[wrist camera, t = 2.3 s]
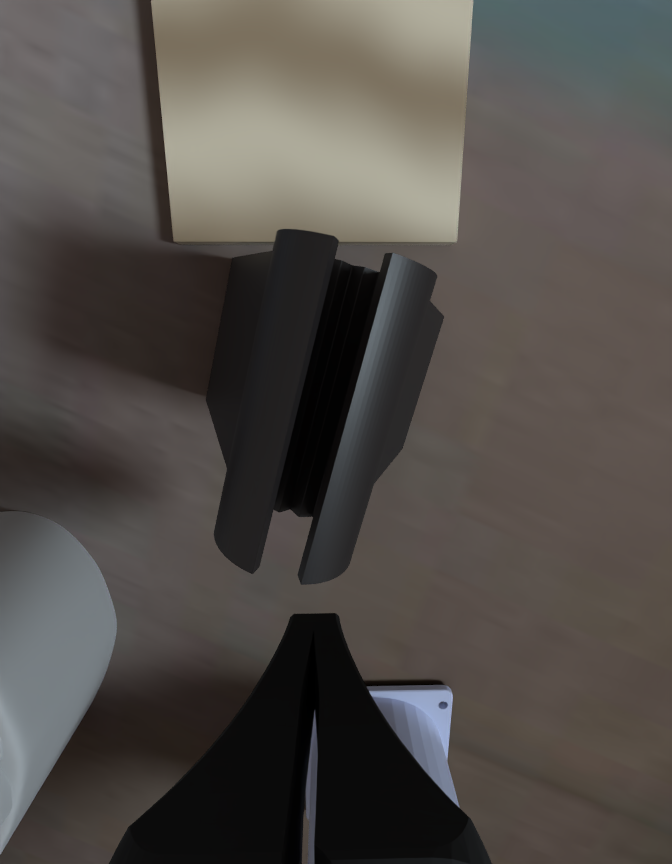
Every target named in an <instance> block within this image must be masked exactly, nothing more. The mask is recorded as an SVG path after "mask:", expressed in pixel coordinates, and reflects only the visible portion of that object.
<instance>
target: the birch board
mask: <svg viewBox="0 0 672 864" xmlns="http://www.w3.org/2000/svg"><path fill="white" fill-rule="evenodd" d="M151 5H152V16H153V27H154V38H155V48H156V59H157V70H158V80H159V91H160V102H161V112H162V123H163V134H164V144H165V155H166V166H167V176H168V187H169V198H170V208H171V219H172V230H173V241H174V242H176V243H178V244H180V245H274V242H275V237H276V232H277V231H278V230H280V229H298V230H306V231H312V232H318V233H323V234H328V235H332V236H335V237H336V238H337V239H338V240H339V243H338V245H452V244H454V243H456V242H457V233H458V218H459V203H460V188H461V173H462V159H463V144H464V129H465V114H466V99H467V84H468V70H469V55H470V40H471V25H472V10H473V0H151Z"/></svg>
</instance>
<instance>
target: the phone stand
mask: <svg viewBox="0 0 672 864" xmlns="http://www.w3.org/2000/svg"><path fill="white" fill-rule="evenodd" d="M338 243H339V240H338V239H337V238H336V237H335V236H332V235H328V234H323V233H318V232H312V231H306V230H298V229H280V230H278V231H277V232H276V237H275V242H274V247H273V251H269V252H263V253H257V254H252V255H246V256H240V257H234V258H232V263H231V268H230V273H229V279H228V284H227V289H226V295H225V300H224V306H223V311H222V316H221V322H220V327H219V332H218V338H217V343H216V348H215V354H214V359H213V364H212V370H211V375H210V381H209V386H208V391H207V397H206V402H207V405H208V408H209V411H210V415H211V418H212V421H213V424H214V428H215V431H216V434H217V437H218V441H219V444H220V447H221V450H222V454H223V457H224V460H225V463H226V467H227V472H226V477H225V482H224V486H223V491H222V496H221V501H220V506H219V510H218V515H217V520H216V525H215V530H214V538H215V542H216V544H217V546H218V548H219V549H220V551H221V552H222V553H223V554H224V556H225V557H226V558H228V559H229V560H230V561H231V562H232V563H234V564H235V565H237V566H238V567H240V568H241V569H243V570H245V571H247V572H249V573H251V574H253V573H254V572H255V571H256V570H257V569H258V568H259V566H260V562H261V558H262V554H263V550H264V546H265V542H266V538H267V533H268V529H269V525H270V521H271V517H272V513H273V509H274V510H276V511H278V512H282V511H286V510H289V509H291V510H292V511H293V512H294V513H295V514H296V515H297V516H298V517H313V520H312V524H311V528H310V531H309V535H308V539H307V542H306V546H305V550H304V553H303V557H302V561H301V564H300V568H299V572H298V577H299V580H300V583H301V585H304V584H316V583H322V582H326V581H329V580H332V579H334V578H336V577H338V576H339V575H341V574H342V573H343V572H344V571H345V570H346V569H347V568H348V566H349V564H350V561H351V557H352V554H353V551H354V547H355V544H356V541H357V538H358V534H359V531H360V528H361V524H362V521H363V518H364V515H365V511H366V508H367V505H368V502H369V498H370V495H371V492H372V488H373V485H374V483H375V482H376V481H377V479H378V478H379V477H380V476H381V474H382V473H383V472H384V471H385V469H386V468H387V467H388V466H389V465H390V463H391V462H392V461H393V460H394V458H395V457H396V456H397V455H398V453H399V452H400V451H401V450H402V448H403V445H404V442H405V439H406V436H407V433H408V429H409V426H410V423H411V420H412V417H413V414H414V410H415V407H416V404H417V401H418V398H419V395H420V391H421V388H422V385H423V382H424V379H425V376H426V373H427V369H428V366H429V363H430V360H431V357H432V354H433V350H434V347H435V344H436V341H437V338H438V335H439V331H440V328H441V325H442V322H443V319H444V316H443V315H442V314H441V313H440V312H439V310H438V309H437V308H436V307H435V306H434V305H433V304H432V303H431V302H430V298H431V295H432V292H433V289H434V285H435V282H436V279H437V274H436V273H435V272H434V271H432V270H431V269H429V268H427V267H426V266H424V265H422V264H419V263H417V262H415V261H413V260H410V259H408V258H405V257H403V256H400V255H398V254H395V253H386V254H385V255H384V259H383V263H382V266H381V270H380V272H377V271H374V270H371V269H368V268H366V267H360V266H353V265H350V264H348V263H346V262H344V261H341V260H336V259H335V255H336V251H337V247H338Z"/></svg>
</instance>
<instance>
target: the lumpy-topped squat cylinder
mask: <svg viewBox="0 0 672 864" xmlns="http://www.w3.org/2000/svg"><path fill="white" fill-rule="evenodd" d="M116 631H117V620H116V615H115V611H114V607H113V603H112V600H111V597H110V594H109V591H108V588H107V585H106V583H105V580H104V578H103V576H102V573H101V571H100V569H99V568H98V566H97V564H96V563H95V561H94V560H93V558H92V557H91V556H90V554H89V553H88V552H87V551H86V549H85V548H84V547H83V546H82V545H81V544H80V542H79V541H78V540H77V539H76V538H75V537H74V536H73V535H72V534H70V533H69V532H68V531H67V530H66V529H64V528H63V527H62V526H60V525H59V524H57V523H56V522H54V521H52V520H50V519H48V518H45V517H43V516H40V515H37V514H33V513H28V512H22V511H4V512H0V854H1V853H2V851H3V849H4V848H5V846H6V844H7V843H8V841H9V839H10V838H11V836H12V834H13V833H14V831H15V829H16V828H17V826H18V824H19V823H20V821H21V820H22V818H23V816H24V815H25V813H26V811H27V810H28V808H29V806H30V805H31V803H32V801H33V800H34V798H35V796H36V795H37V793H38V791H39V790H40V788H41V786H42V785H43V783H44V781H45V780H46V778H47V776H48V775H49V773H50V772H51V770H52V768H53V767H54V765H55V763H56V762H57V760H58V758H59V757H60V755H61V753H62V752H63V750H64V748H65V747H66V745H67V743H68V742H69V740H70V738H71V737H72V735H73V733H74V732H75V730H76V728H77V727H78V725H79V724H80V722H81V720H82V719H83V717H84V715H85V714H86V712H87V710H88V709H89V707H90V705H91V704H92V702H93V700H94V698H95V696H96V693H97V691H98V689H99V687H100V685H101V683H102V681H103V678H104V676H105V673H106V671H107V668H108V665H109V662H110V658H111V655H112V651H113V647H114V643H115V638H116Z"/></svg>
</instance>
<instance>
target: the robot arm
mask: <svg viewBox="0 0 672 864" xmlns="http://www.w3.org/2000/svg"><path fill="white" fill-rule="evenodd" d="M452 700H453V695H452V692H451V689H450V688H449V687H448V686H446V685H408V686H366V685H365V683H364V681H363V679H362V677H361V675H360V673H359V671H358V669H357V667H356V665H355V662H354V660H353V658H352V656H351V653H350V651H349V649H348V646H347V643H346V641H345V638H344V635H343V632H342V628H341V624H340V619H339V616H338V615H337V614H336V613H323V614H293V615H292V616H291V617H290V620H289V623H288V626H287V628H286V631H285V633H284V635H283V638H282V640H281V642H280V644H279V646H278V648H277V650H276V652H275V654H274V656H273V658H272V659H271V661H270V663H269V665H268V667H267V669H266V670H265V672H264V674H263V675H262V677H261V679H260V680H259V682H258V683H257V685H256V687H255V688H254V690H253V691H252V693H251V695H250V696H249V698H248V699H247V701H246V702H245V703H244V705H243V706H242V708H241V709H240V711H239V712H238V713H237V715H236V716H235V717H234V719H233V720H232V721H231V723H230V724H229V725H228V726H227V728H226V729H225V730H224V731H223V733H222V734H221V735H220V736H219V737H218V739H217V740H216V741H215V742H214V744H213V745H212V746H211V747H210V748H209V749H208V751H207V752H206V753H205V754H204V755H203V756H202V757H201V758H200V759H199V760H198V762H197V763H196V764H195V765H194V766H193V767H192V768H191V769H190V770H189V771H188V772H187V773H186V774H185V775H184V776H183V777H182V778H181V779H180V780H179V781H178V782H177V783H176V784H175V785H174V786H173V787H172V788H171V789H170V790H169V791H168V792H167V793H166V794H165V795H164V796H163V797H162V798H161V799H160V800H158V801H157V802H156V803H155V804H154V805H153V806H152V807H151V808H150V809H148V810H147V811H146V812H145V813H144V814H143V815H142V816H141V817H140V818H138V819H137V820H136V821H135V822H134V823H133V824H132V825H130V826H129V827H128V829H127V831H126V832H125V834H124V836H123V838H122V840H121V841H120V843H119V845H118V847H117V849H116V851H115V853H114V855H113V857H112V859H111V861H110V863H109V864H302V839H303V814H304V802H305V791H306V817H307V819H308V820H309V842H308V864H492V863H491V861H490V858H489V856H488V853H487V851H486V849H485V847H484V845H483V842H482V840H481V838H480V836H479V834H478V832H477V830H476V828H475V826H474V824H473V822H472V820H471V819H470V818H469V817H468V816H467V815H466V814H465V813H464V812H463V811H462V810H461V809H460V807H459V804H458V800H457V796H456V792H455V789H454V785H453V781H452V778H451V774H450V770H449V766H448V763H447V757H448V745H449V734H450V722H451V711H452ZM443 701H444V702H443ZM440 702H443V703H440Z"/></svg>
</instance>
